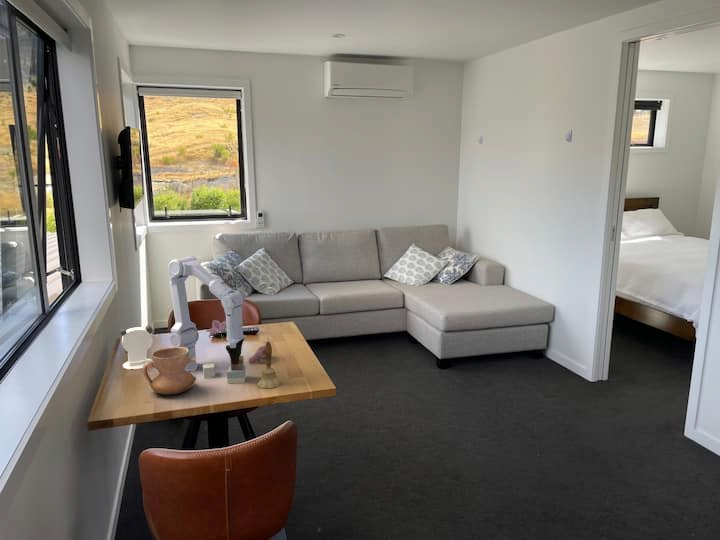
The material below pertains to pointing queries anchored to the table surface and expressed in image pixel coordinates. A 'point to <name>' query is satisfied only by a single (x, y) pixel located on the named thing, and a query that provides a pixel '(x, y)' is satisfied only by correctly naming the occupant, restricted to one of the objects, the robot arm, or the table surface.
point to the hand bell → (268, 371)
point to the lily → (217, 328)
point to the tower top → (235, 373)
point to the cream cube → (209, 370)
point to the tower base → (236, 380)
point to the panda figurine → (137, 346)
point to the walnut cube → (239, 365)
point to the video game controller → (258, 355)
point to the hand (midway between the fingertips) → (236, 360)
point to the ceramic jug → (170, 371)
